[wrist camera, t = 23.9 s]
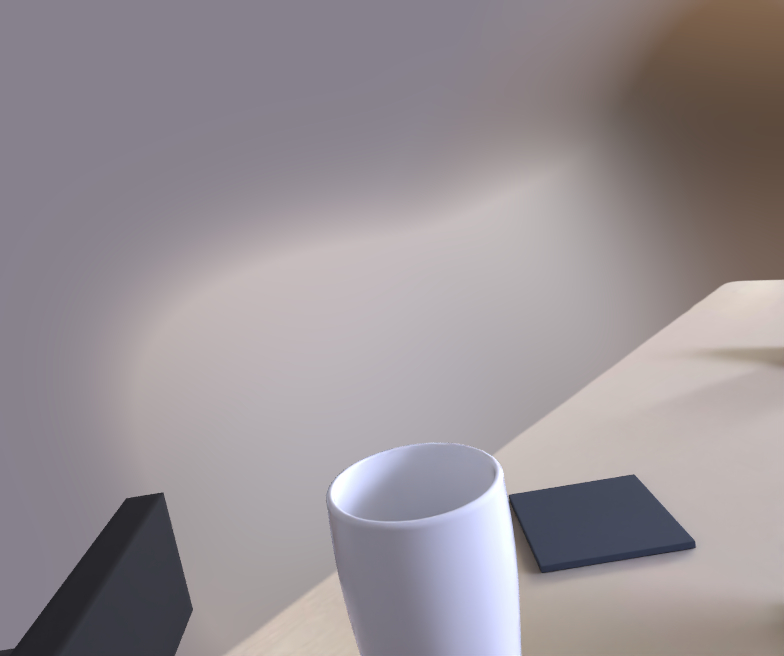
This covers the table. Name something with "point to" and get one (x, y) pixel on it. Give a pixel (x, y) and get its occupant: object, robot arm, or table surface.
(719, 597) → the table surface
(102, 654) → the robot arm
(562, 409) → the table surface
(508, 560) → the drinking glass
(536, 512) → the slate mat
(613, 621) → the table surface
